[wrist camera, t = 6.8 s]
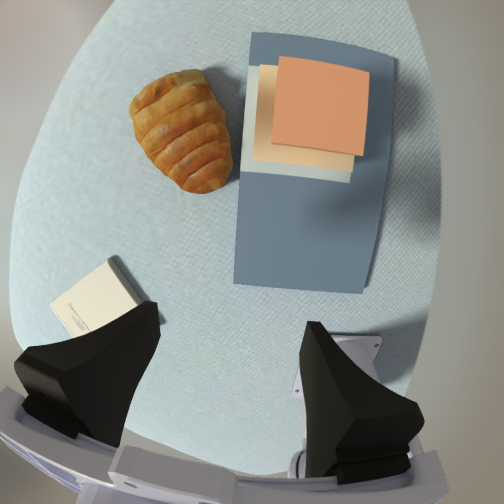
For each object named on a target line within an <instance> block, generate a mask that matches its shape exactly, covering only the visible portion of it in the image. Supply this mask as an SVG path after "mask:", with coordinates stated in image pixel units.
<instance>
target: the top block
mask: <svg viewBox="0 0 504 504" xmlns="http://www.w3.org/2000/svg"><path fill="white" fill-rule="evenodd" d="M368 95H369V72H366V71H362V70H358V69H354V68H350V67H345V66H341V65H336V64H331V63H326V62H320V61H314V60H308V59H301V58H293V57H285V56H279V63H278V72H277V81H276V92H275V104H274V115H273V125H272V136H271V144H272V145H281V146H290V147H298V148H306V149H313V150H319V151H326V152H332V153H338V154H347V155H357V156H363V152H364V143H365V133H366V123H367V110H368Z"/></svg>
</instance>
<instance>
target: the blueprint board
mask: <svg viewBox="0 0 504 504" xmlns="http://www.w3.org/2000/svg"><path fill="white" fill-rule="evenodd" d="M279 56H285V57H293V58H301V59H308V60H314V61H320V62H326V63H331V64H336V65H341V66H345V67H350V68H354V69H358V70H362V71H366V72H369V95H368V110H367V123H366V133H365V143H364V152H363V156H357V155H354V164H353V172H347V171H341V170H334V169H327V168H320V167H313V166H305V165H297V164H288V163H278V162H267V161H255V160H252V158H253V145H254V133H255V120H256V108H257V96H258V83H259V72H260V64H262V65H275V66H278V63H279ZM393 106H394V57H391V56H388V55H384V54H381V53H378V52H374V51H371V50H367V49H363V48H359V47H355V46H351V45H347V44H342V43H337V42H332V41H327V40H322V39H316V38H309V37H302V36H294V35H285V34H273V33H257V32H252V36H251V46H250V57H249V66H248V77H247V89H246V101H245V113H244V125H243V138H242V152H241V165H240V182H239V197H238V212H237V228H236V245H235V263H234V282H233V284H242V285H252V286H263V287H274V288H286V289H299V290H312V291H325V292H340V293H357V294H362V293H363V289H364V286H365V282H366V278H367V274H368V270H369V266H370V262H371V258H372V254H373V250H374V245H375V241H376V236H377V231H378V226H379V221H380V216H381V210H382V205H383V199H384V193H385V186H386V179H387V172H388V164H389V156H390V146H391V136H392V123H393Z"/></svg>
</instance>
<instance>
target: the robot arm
mask: <svg viewBox="0 0 504 504" xmlns="http://www.w3.org/2000/svg"><path fill="white" fill-rule="evenodd" d="M160 336H161V334H160V325H159V316H158V306H157V303H156V302H150V301H145V302H143V303H141V304H139V305H138V306H136V307H134V308H133V309H131V310H130V311H128V312H126V313H125V314H123V315H121V316H120V317H118V318H117V319H115V320H113V321H111V322H109V323H107V324H106V325H104V326H102V327H100V328H98V329H96V330H94V331H91V332H89V333H87V334H84V335H81V336H78V337H75V338H72V339H69V340H66V341H62V342H58V343H53V344H48V345H40V346H30V347H28V348H27V349H26V350H25V351H24V352H23V353H22V354H21V355H20V357H19V358H18V359H17V360H16V361H15V362H14V368H15V372H16V374H17V376H18V377H19V379H20V381H21V383H22V384H23V386H24V388H25V389H26V391H27V393H28V394H29V395H28V396H27V398H26V399H25V397H24V396H23V395H21V394H20V393H19V392H17V391H16V390H14V389H12V388H11V387H10V386H6V387H5V388H4V389H3V390H2V392H1V393H0V438H1V439H2V440H3V441H4V442H5V443H6V444H7V445H8V446H9V447H10V448H11V449H12V450H13V451H15V452H16V453H17V454H19V455H20V456H21V457H23V458H24V459H25V460H27V461H28V462H30V463H31V464H33V465H34V466H35V467H37V468H38V469H40V470H41V471H42V472H44V473H45V474H47V475H49V476H50V477H52V478H53V479H55V480H57V481H58V482H60V483H61V484H63V485H65V486H66V487H68V488H70V489H72V490H73V491H75V492H77V493H79V496H78V499H77V502H76V504H435V503H436V502H438V501H440V500H441V499H443V498H445V497H446V496H448V495H449V494H450V489H449V486H448V482H447V479H446V476H445V473H444V470H443V467H442V464H441V462H440V459H439V456H438V453H437V451H436V450H433V451H429V452H426V453H424V451H423V448H422V445H421V443H420V440H419V437H418V435H417V434H418V433H419V432H420V430H421V429H422V427H423V425H424V417H423V415H422V413H421V410H420V408H419V406H418V404H417V403H416V402H414V401H412V400H409V399H407V398H405V397H403V396H401V395H399V394H397V393H395V392H393V391H391V390H390V389H388V388H386V387H385V386H383V385H381V382H380V380H379V377H378V374H377V372H376V369H375V367H374V364H373V362H374V359H375V357H376V355H377V353H378V350H379V348H380V346H381V343H382V338H381V336H340V335H330V334H329V333H328V331H327V330H326V329H325V328H324V326H323V325H322V324H321V322H316V321H307V325H306V329H305V333H304V337H303V341H302V345H301V349H300V353H299V359H300V364H299V368H298V372H297V375H296V379H295V383H294V386H293V390H292V393H291V396H292V398H295V399H300V404H301V416H302V430H303V438H304V439H302V447H303V450H302V451H299V452H297V453H296V454H294V456H293V457H292V459H291V462H290V465H289V468H288V478H260V477H245V476H236V475H235V474H234V473H233V472H231V471H229V470H227V469H225V468H223V467H218V466H214V465H210V464H205V463H199V462H193V461H188V460H184V459H179V458H175V457H171V456H166V455H162V454H159V453H155V452H151V451H148V450H144V449H141V448H137V447H131V446H123V447H119V445H120V440H121V436H122V431H123V428H124V424H125V420H126V417H127V413H128V410H129V407H130V404H131V401H132V398H133V395H134V393H135V390H136V388H137V386H138V383H139V382H140V380H141V378H142V376H143V374H144V372H145V370H146V368H147V366H148V364H149V362H150V360H151V359H152V357H153V355H154V353H155V350H156V348H157V345H158V342H159V339H160ZM375 344H377V345H375ZM297 389H298V390H297Z"/></svg>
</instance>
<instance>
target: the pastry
mask: <svg viewBox="0 0 504 504" xmlns="http://www.w3.org/2000/svg"><path fill="white" fill-rule="evenodd" d="M129 113H130V116H131V117H132V121H133V127H134V133H135V137H136V139H137V141H138V142H139V144H140V145H141V147H142V148H143V149H144V152H145V154H146V155H147V157H148V158H149V159H150V160H151V161H152V162H153V164H154V165H155V166H156V167H157V168H158V169H160V170H161V171H162V172H163V174H164V175H166V176H168V177H169V178H170V179H172V180H174V181H175V182H176V183H177V184H178V185H179V186H180V188H181V189H182V190H184V191H187V192H191V193H197V194H206V193H209V192H212V191H214V190H216V189H219V188H221V187H223V186H224V185H225V184H226V182H227V180H228V178H229V175H230V173H231V171H232V168H233V161H232V156H231V150H230V147H231V139H230V135H229V131H228V129H227V124H226V113H225V110H224V109H223V107H222V106H220V105H219V104H218V102H217V100H216V97H215V96H214V94H213V93H212V91H211V89H210V86H209V84H208V83H207V81H206V79H205V75H204V73H203V72H202V71H200V70H198V69H191V70H182V71H180V72H175V73H171V74H167V75H165V76H164V77H162V78H159V79H157V80H155V81H154V82H152V83H150V84H149V85H147V86H145V87H144V88H143V89H142V90H141V92H140V93H139V94H138V95H136V96H135V97H134V99H133V100H132V102H131V104H130V108H129Z"/></svg>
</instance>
